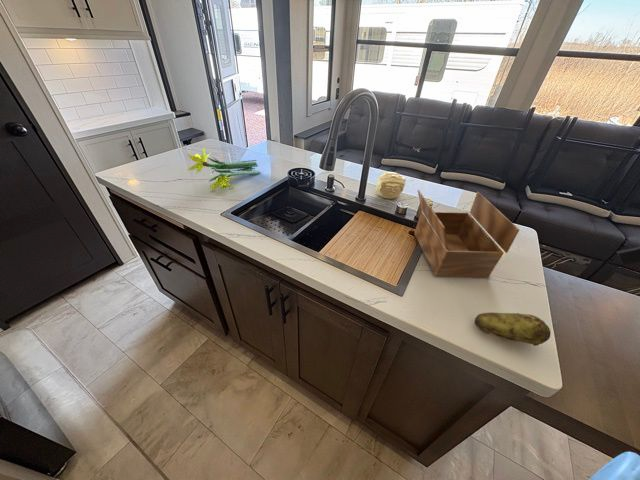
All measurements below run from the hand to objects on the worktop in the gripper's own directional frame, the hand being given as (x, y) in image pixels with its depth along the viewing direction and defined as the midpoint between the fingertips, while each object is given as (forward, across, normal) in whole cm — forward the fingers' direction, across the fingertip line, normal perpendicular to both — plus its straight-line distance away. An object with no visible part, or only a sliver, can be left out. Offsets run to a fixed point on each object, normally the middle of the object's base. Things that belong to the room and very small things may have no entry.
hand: (634, 282), depth 42 cm
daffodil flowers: (+102, +29, +69) cm, 126 cm away
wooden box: (+34, +25, +1) cm, 42 cm away
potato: (+24, 0, -10) cm, 26 cm away
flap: (+30, +21, +16) cm, 40 cm away
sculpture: (+54, +55, +21) cm, 80 cm away
